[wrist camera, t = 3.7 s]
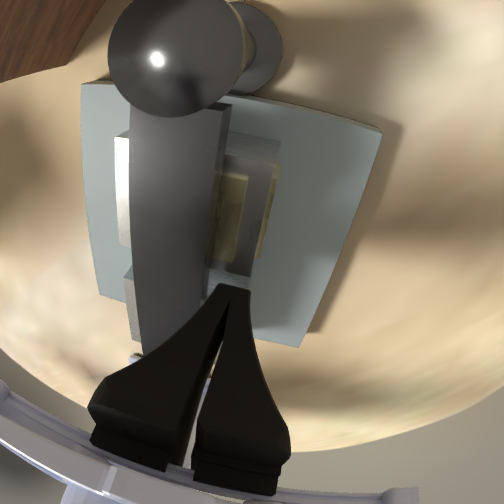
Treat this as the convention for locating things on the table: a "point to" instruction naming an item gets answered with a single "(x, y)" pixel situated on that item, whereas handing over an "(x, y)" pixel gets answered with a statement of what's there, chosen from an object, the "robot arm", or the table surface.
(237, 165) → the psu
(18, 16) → the tissue box cover
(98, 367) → the table surface
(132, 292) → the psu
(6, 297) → the table surface
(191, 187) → the swing bar
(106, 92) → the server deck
